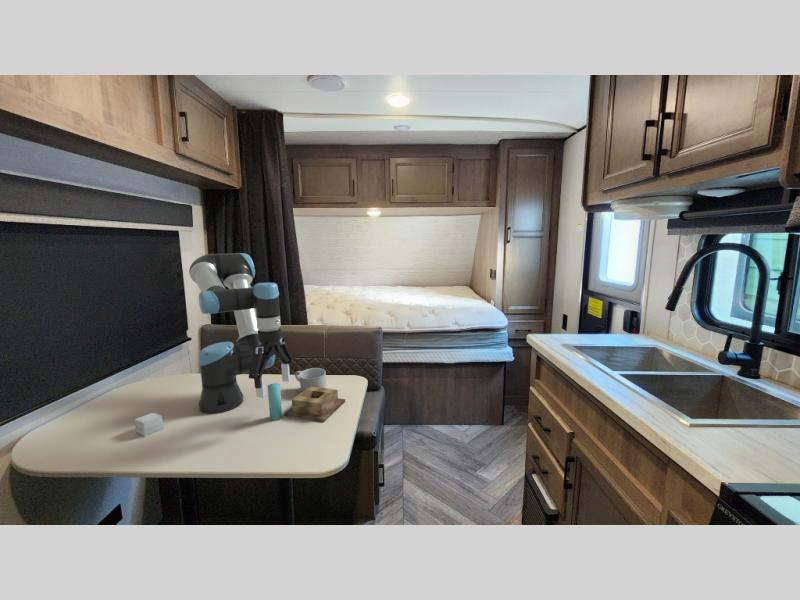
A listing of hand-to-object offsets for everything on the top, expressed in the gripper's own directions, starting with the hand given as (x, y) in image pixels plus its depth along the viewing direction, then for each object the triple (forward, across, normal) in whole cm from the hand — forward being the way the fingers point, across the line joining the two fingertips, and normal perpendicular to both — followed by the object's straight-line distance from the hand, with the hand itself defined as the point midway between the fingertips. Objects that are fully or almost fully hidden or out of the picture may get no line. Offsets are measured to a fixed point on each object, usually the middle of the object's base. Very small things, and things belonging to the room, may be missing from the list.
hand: (274, 388), depth 118 cm
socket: (+11, +10, -10) cm, 18 cm away
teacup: (+11, +24, +2) cm, 27 cm away
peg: (+11, 0, 0) cm, 11 cm away
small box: (+11, -19, +36) cm, 42 cm away
